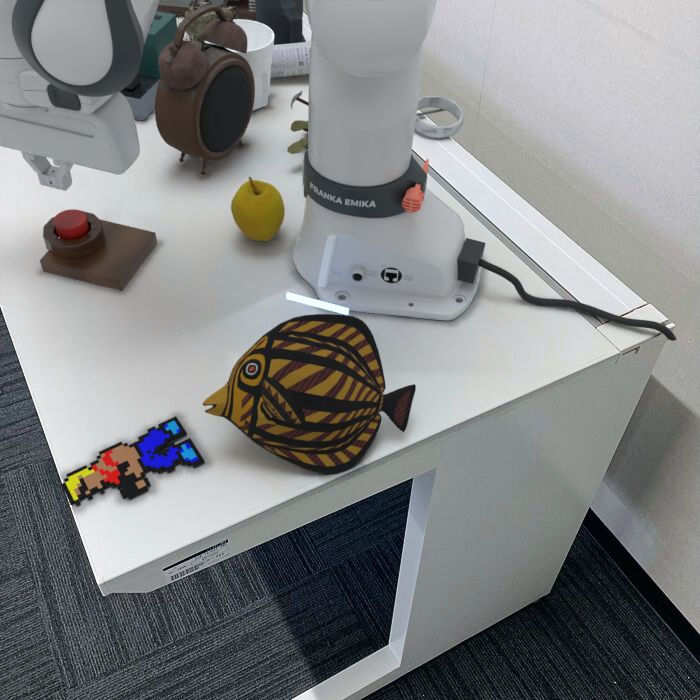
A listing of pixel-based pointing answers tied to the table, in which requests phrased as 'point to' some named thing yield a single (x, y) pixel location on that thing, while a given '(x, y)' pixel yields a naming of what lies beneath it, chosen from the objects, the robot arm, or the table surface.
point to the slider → (134, 81)
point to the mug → (282, 19)
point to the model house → (178, 4)
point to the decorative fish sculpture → (312, 393)
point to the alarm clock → (205, 89)
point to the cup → (258, 57)
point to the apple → (258, 210)
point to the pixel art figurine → (133, 463)
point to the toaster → (151, 65)
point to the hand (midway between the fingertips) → (56, 185)
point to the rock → (205, 17)
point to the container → (291, 59)
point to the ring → (445, 105)
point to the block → (98, 252)
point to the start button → (71, 224)
